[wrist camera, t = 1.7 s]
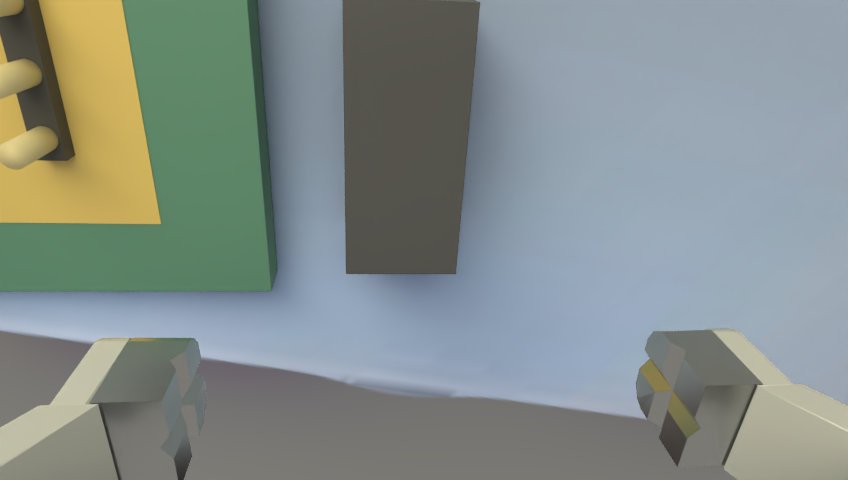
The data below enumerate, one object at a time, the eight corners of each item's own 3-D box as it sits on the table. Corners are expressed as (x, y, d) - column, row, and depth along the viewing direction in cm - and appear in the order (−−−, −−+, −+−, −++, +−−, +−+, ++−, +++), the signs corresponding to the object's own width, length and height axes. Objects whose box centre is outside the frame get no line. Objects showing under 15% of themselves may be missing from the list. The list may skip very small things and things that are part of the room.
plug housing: (459, -6, 23) (479, 2, 19) (442, 223, 28) (455, 274, 23) (348, -12, 23) (342, -5, 18) (350, 223, 27) (346, 273, 23)
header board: (239, -228, 19) (200, -284, 15) (277, 270, 28) (260, 328, 24) (-275, -274, 18) (-491, -352, 13) (-62, 269, 27) (-149, 331, 22)
